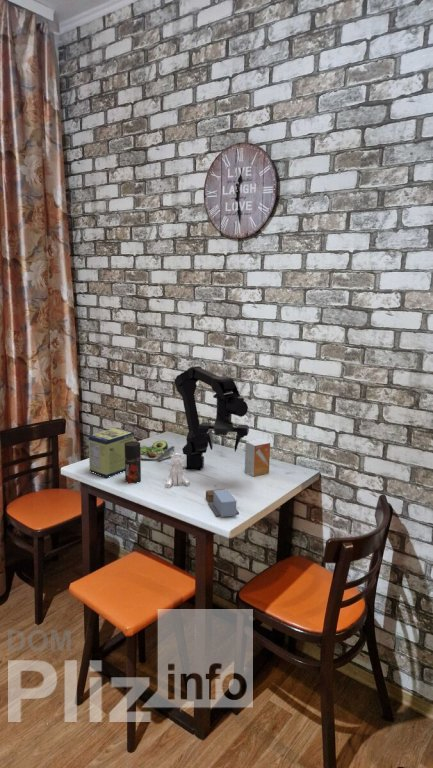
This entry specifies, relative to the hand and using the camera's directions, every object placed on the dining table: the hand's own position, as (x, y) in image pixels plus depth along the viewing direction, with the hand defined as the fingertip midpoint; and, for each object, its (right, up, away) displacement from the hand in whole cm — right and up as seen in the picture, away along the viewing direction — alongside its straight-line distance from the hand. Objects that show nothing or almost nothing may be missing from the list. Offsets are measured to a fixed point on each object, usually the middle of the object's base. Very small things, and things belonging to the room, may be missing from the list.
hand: (223, 450), depth 201 cm
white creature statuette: (-18, -13, 0) cm, 22 cm away
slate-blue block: (-1, -14, -19) cm, 24 cm away
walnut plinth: (-3, -16, -15) cm, 22 cm away
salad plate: (-30, -6, +33) cm, 45 cm away
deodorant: (-35, -12, +2) cm, 37 cm away
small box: (+14, -11, +12) cm, 21 cm away
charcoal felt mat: (0, -17, -22) cm, 28 cm away
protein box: (-45, -10, +12) cm, 48 cm away
